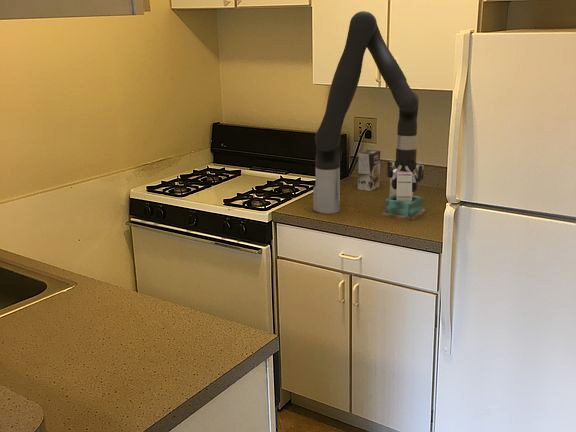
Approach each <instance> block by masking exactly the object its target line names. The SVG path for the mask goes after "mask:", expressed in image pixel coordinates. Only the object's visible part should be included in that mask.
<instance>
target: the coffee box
mask: <svg viewBox="0 0 576 432" xmlns="http://www.w3.org/2000/svg"><path fill="white" fill-rule="evenodd" d="M357 164H358V165H357V166H358V169H357V170H358V172H357V190H360V191H367V192H371V191H374V190H375V189H377V188H379V187H380V173H381V172H380V170H381V169H380V168H381V150H375V149H366V150H363V151H361V152H359V153H358V163H357Z"/></svg>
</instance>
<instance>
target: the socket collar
mask: <svg viewBox="0 0 576 432" xmlns="http://www.w3.org/2000/svg"><path fill="white" fill-rule="evenodd" d="M389 197H390V196H389ZM389 197H388V198H386V199H385V205H384V207H385V208H384V211H382V212H381V213H380V216H381V217H387V218H393V219H399V220H405V221H411V222H414V221H416V220H417V219H418V218H420V217H421V216H423V215H424V214H426V213H427V209H426V208H423V204H424V197H423V196H417V195H413V196H412V202H410V203H409V202H402V201H396V197H397V194H395V195H393V196H392V197H390V198H389Z"/></svg>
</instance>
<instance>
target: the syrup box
mask: <svg viewBox="0 0 576 432" xmlns="http://www.w3.org/2000/svg"><path fill="white" fill-rule="evenodd" d="M412 174H413V172H412V173H411V172H407V171H398V172H397V197H396V201H402V202H409V203H410V202H412V183H413V180H412Z"/></svg>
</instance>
